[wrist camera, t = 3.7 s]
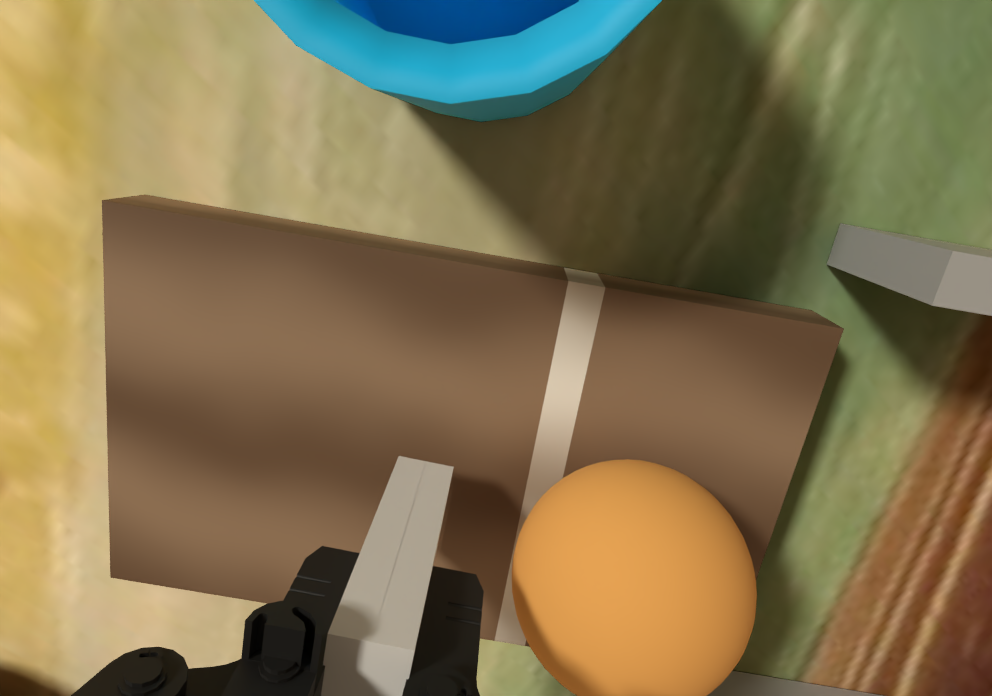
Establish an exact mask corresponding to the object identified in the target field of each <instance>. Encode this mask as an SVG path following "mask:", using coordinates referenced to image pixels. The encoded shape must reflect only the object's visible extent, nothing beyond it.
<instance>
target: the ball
mask: <svg viewBox="0 0 992 696" xmlns="http://www.w3.org/2000/svg"><path fill="white" fill-rule="evenodd" d="M512 594H513V599H514V604H515V609H516V614H517V617H518V620H519V623H520V626H521V629H522V631H523V633H524V636H525V638H526V640H527V642H528V644H529V646H530V647H531V649H532V651H533V652H534V654H535V655H536V657H537V658H538V659H539V661H540V662H541V663H542V665H543V666H544V668H545V669H546V670H547V671H548V672H549V673H550V674H551V675H552V676H553V677H554V678H555V679H556V680H557V681H558V682H559V683H560V684H562V685H563V686H564V687H565V688H567V689H568V690H569V691H571V692H572V693H574V694H576V695H577V696H707V695H708V694H710V693H711V692H712V691H713V690H715V689H716V688H717V687H718V686H719V685H720V684H721V683H722V682H723V681H724V680H725V679H726V678H727V677H728V676H729V674H730V673H731V672H732V670H733V669H734V668H735V666H736V665H737V664H738V662H739V660H740V659H741V657H742V655H743V653H744V651H745V649H746V646H747V644H748V641H749V638H750V636H751V633H752V629H753V625H754V621H755V613H756V601H757V590H756V579H755V572H754V567H753V563H752V559H751V556H750V553H749V550H748V547H747V545H746V542H745V540H744V538H743V535H742V534H741V532H740V530H739V529H738V527H737V525H736V524H735V522H734V520H733V519H732V517H731V515H730V514H729V513H728V512H727V510H726V509H725V508H724V507H723V506H722V504H721V503H720V502H719V501H718V500H717V499H716V498H715V497H714V496H713V495H712V494H711V493H710V492H709V491H707V490H706V489H705V488H704V487H702V486H701V485H700V484H698V483H697V482H695V481H694V480H692V479H691V478H689V477H688V476H686V475H684V474H682V473H680V472H678V471H676V470H674V469H671V468H668V467H665V466H662V465H659V464H656V463H652V462H647V461H642V460H630V459H625V460H610V461H604V462H599V463H595V464H592V465H589V466H586V467H583V468H581V469H579V470H576V471H574V472H573V473H571V474H569V475H567V476H566V477H564V478H563V479H561V480H560V481H559V482H557V483H556V484H555V485H553V486H552V487H551V488H550V489H549V490H548V491H547V492H546V493H545V494H544V495H543V496H542V497H541V498H540V499H539V500H538V502H537V503H536V504H535V505H534V507H533V508H532V510H531V512H530V513H529V515H528V517H527V519H526V520H525V522H524V524H523V526H522V529H521V531H520V533H519V536H518V540H517V544H516V547H515V551H514V555H513V563H512Z"/></svg>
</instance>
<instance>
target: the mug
mask: <svg viewBox="0 0 992 696" xmlns="http://www.w3.org/2000/svg"><path fill="white" fill-rule="evenodd" d="M254 1H255V2H256V3H257V4H258V5H259V6H260V7H261V8H262V9H263V11H264V12H265V13H266V14H267V15H268V16H269V17H270V18H271V19H272V20H273V21H274V22H275V23H276V24H277V25H278V26H279V28H280V29H281V30H282V31H283V32H284V33H285V34H286V35H287V36H288V37H289V38H290V39H291V40H292V41H293V42H294V44H295V45H296V46H298V47H300V48H301V49H303V50H305V51H307V52H308V53H310V54H312V55H314V56H315V57H317V58H319V59H321V60H322V61H324V62H326V63H328V64H329V65H331V66H333V67H335V68H336V69H338V70H340V71H342V72H343V73H345V74H347V75H349V76H350V77H352V78H354V79H356V80H357V81H359V82H361V83H363V84H364V85H366V86H368V87H370V88H372V89H374V90H377V91H380V92H382V93H385V94H388V95H390V96H393V97H395V98H398V99H401V100H403V101H406V102H409V103H411V104H414V105H417V106H419V107H422V108H425V109H427V110H430V111H432V112H435V113H439V114H444V115H449V116H454V117H459V118H464V119H469V120H474V121H479V122H485V121H492V120H499V119H507V118H514V117H521V116H527V115H529V114H531V113H533V112H535V111H537V110H539V109H541V108H543V107H545V106H547V105H549V104H551V103H553V102H555V101H557V100H559V99H561V98H563V97H565V96H567V95H569V94H570V93H571V92H572V91H573V90H574V89H575V88H577V87H578V86H579V85H580V84H581V83H582V82H583V81H584V80H585V79H586V78H587V77H588V76H589V75H590V74H591V73H592V72H593V71H594V70H595V69H596V68H597V67H598V66H599V65H600V64H601V63H602V62H603V61H604V60H605V59H606V58H607V57H608V56H609V55H610V54H611V53H612V52H613V51H614V50H615V49H616V48H617V47H618V46H619V45H620V44H621V43H622V42H623V41H624V40H625V38H626V37H627V36H628V35H629V34H630V33H631V32H632V31H633V30H634V29H635V28H636V27H637V26H638V25H639V24H640V23H641V22H642V21H643V20H644V19H645V18H646V17H647V16H648V15H649V14H650V13H651V12H652V11H653V10H654V9H655V8H656V6H657V5H658V4H659V3H660V2H661V1H662V0H254Z"/></svg>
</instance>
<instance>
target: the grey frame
mask: <svg viewBox="0 0 992 696" xmlns="http://www.w3.org/2000/svg"><path fill="white" fill-rule="evenodd" d="M827 265H829V266H832V267H835V268H837V269H840V270H842V271H845V272H847V273H850V274H852V275H855V276H858V277H860V278H863V279H865V280H868V281H870V282H873V283H876V284H878V285H881V286H883V287H886V288H888V289H891V290H893V291H896V292H899V293H901V294H904V295H906V296H909V297H911V298H914V299H917V300H919V301H922V302H924V303H927V304H929V305H932V306H938V307H944V308H949V309H955V310H961V311H966V312H972V313H978V314H984V315H989V316H992V250H989V249H984V248H978V247H972V246H967V245H961V244H955V243H949V242H944V241H938V240H932V239H927V238H921V237H915V236H910V235H904V234H898V233H892V232H887V231H881V230H875V229H870V228H864V227H858V226H853V225H847V224H841V223H840V226H839V229H838V232H837V235H836V238H835V241H834V244H833V247H832V250H831V253H830V256H829V259H828V262H827ZM707 696H883V695H877V694H870V693H864V692H858V691H852V690H846V689H840V688H834V687H828V686H822V685H816V684H810V683H804V682H798V681H792V680H786V679H780V678H774V677H768V676H761V675H755V674H749V673H743V672H737V671H732V672H731V673H730V674H729V676H728V677H727V678H726V679H725V680H724V681H723V682H722V683H721V684H720V685H719V686H718V687H717V688H716V689H715V690H713V691H712V692H711V693H710V694H708V695H707Z"/></svg>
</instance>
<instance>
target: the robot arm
mask: <svg viewBox="0 0 992 696" xmlns="http://www.w3.org/2000/svg"><path fill="white" fill-rule="evenodd" d="M453 468H454V467H452V466H447V465H442V464H437V463H432V462H427V461H422V460H417V459H412V458H407V457H402V456H399V457H398V459H397V462H396V464H395V467H394V469H393V472H392V474H391V477H390V479H389V481H388V484H387V486H386V489H385V491H384V494H383V496H382V499H381V501H380V504H379V506H378V509H377V511H376V514H375V516H374V519H373V521H372V524H371V526H370V529H369V531H368V534H367V536H366V539H365V541H364V544H363V546H362V549H361V551H360V553H357V552H351V551H346V550H341V549H336V548H331V547H326V546H321V547H320V548H319V549H317V550H316V551H314V552H313V553H312V554H310V555H309V556H308V557H306V558H305V560H304V562H303V564H302V566H301V568H300V570H299V572H298V573H297V577H295V579H294V581H293V583H292V585H291V587H290V590H289V591H288V592H287V594H286V596H285V598H284V600H283V601H278V602H273V603H268V604H266V605H264V606H262V607H260V608H258V609H256V610H254V611H253V612H252V614H251V615H250V616H249V617H248V618H247V619H246V620H245V629H244V639H243V649H242V658H241V659H240V660H238V661H235V662H232V663H229V664H226V665H221V666H215V667H205V668H192V669H188V666H187V664H186V662H185V660H184V657H182V656H181V655H179V654H178V653H177V652H175V651H174V650H171V649H166V648H162V647H149V648H140V649H137V650H134V651H131V652H128V653H125V654H123V655H122V656H120V657H119V658H117V659H115V660H114V661H112V662H111V663H109V664H108V665H107V666H106V667H105V668H103V669H102V670H101V671H100V672H99V673H97V674H96V675H95V676H94V677H93V678H92V679H90V680H89V681H88V682H87V683H86V684H84V685H83V686H82V687H81V688H80V689H79V690H77V691H76V692H75V693H74V694H73V695H71V696H480V695H479V692H478V689H477V680H476V676H477V665H478V653H479V641H480V629H481V618H482V606H483V594H484V591H483V588H482V586H481V584H480V582H479V580H478V577H477V575H476V574H472V573H467V572H462V571H457V570H452V569H447V568H442V567H437V566H434V562H435V557H436V552H437V547H438V542H439V537H440V532H441V527H442V522H443V518H444V513H445V508H446V503H447V498H448V493H449V488H450V483H451V478H452V473H453Z"/></svg>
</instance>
